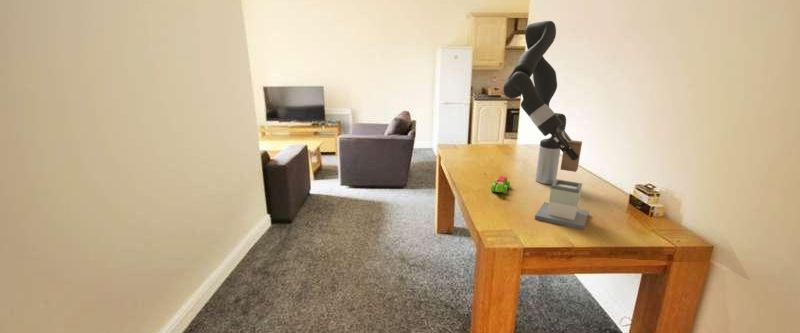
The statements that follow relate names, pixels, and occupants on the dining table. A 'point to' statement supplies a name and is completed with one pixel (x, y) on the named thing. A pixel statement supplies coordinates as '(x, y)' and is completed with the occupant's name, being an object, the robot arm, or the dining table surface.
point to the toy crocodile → (501, 185)
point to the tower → (564, 205)
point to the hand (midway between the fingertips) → (576, 157)
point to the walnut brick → (567, 161)
